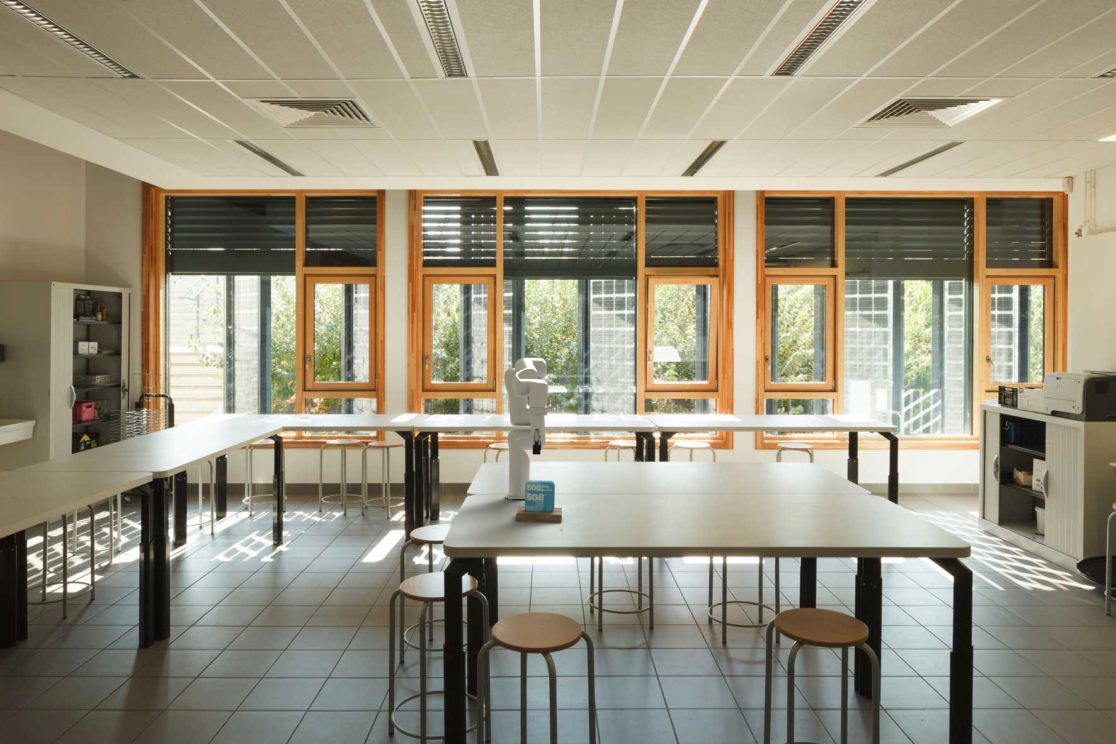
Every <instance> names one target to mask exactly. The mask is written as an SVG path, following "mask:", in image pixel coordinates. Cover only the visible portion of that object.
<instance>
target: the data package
mask: <svg viewBox="0 0 1116 744" xmlns="http://www.w3.org/2000/svg"><path fill="white" fill-rule="evenodd" d="M555 489H556V483H555V482H554V481H553V480H536V479H535V480H532V479H530V480H528V481H527V482H526V484H525V500H524V507H525V510H526V511H528V512H552V511H553V510H554V508H555V504H556V503H555V495H556V493H555V492H556V490H555Z"/></svg>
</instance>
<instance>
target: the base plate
mask: <svg viewBox="0 0 1116 744" xmlns="http://www.w3.org/2000/svg"><path fill="white" fill-rule="evenodd" d="M562 511H563V508H562V507H554V510H553V511H552V512H528V511H526V510H525V506H518V507H517V511H516V518H515V520H516V521H534V522H533V523H557V522H562V523H563V521H562V519H563V514H562V513H563V512H562ZM516 521H515V522H516Z"/></svg>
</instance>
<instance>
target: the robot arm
mask: <svg viewBox="0 0 1116 744" xmlns="http://www.w3.org/2000/svg"><path fill="white" fill-rule="evenodd" d="M547 365H548V364H547V362H546V361H545V359H543V358H540V357H522V358H519V359H517V360H516V361H515V363H514V367H511V368H507V369H506V370H505V372H504V373H503V377H504V378H503V380H504V387H505V389H506V392H507V396H508V398H509V399H508V401H509V403H508V404H509V419H510V424H511V425H512V426H513V427H520V428H518V429H512V430H511V431H509V432H508V434H507V444H508V445H507V446H508V493H505V496H504V498H505V497H506V499H507V498H508V499H507V500H512V499H525V484H526V482H527V481H528V480H531V479H530V478H531V477H530V476H531V475H530V474H531V471H530V468H531V465H530V464H531V461H530V457H529V456H528V454H527V453H526V452H525V451H532V455H533V456H534V455H538V456H539V455H541V451H542V450H544V448H545V446H546V443H547V442H546V438H547V437H546V421H545V416H547V415H548V394H549V393H548V392H549V385H548V384H549V383H548V382H547V381H546V380H545V377H546V376H547V374H548V366H547ZM528 399H529V400H528ZM523 427H525V428H523ZM527 427H528V428H529V427H530V428H529V429H528V428H527Z"/></svg>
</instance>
